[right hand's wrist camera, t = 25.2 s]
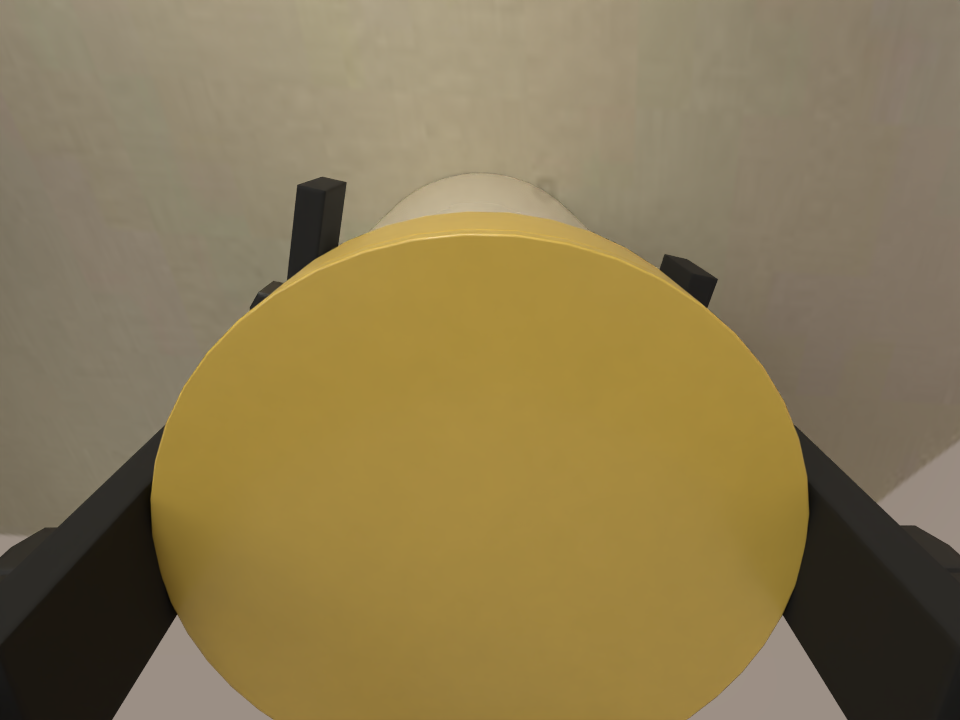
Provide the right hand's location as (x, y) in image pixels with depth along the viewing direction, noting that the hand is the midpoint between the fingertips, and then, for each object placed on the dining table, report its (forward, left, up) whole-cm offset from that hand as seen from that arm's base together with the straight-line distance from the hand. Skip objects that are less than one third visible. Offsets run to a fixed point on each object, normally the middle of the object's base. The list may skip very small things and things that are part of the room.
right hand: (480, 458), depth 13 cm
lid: (0, 0, +3) cm, 3 cm away
